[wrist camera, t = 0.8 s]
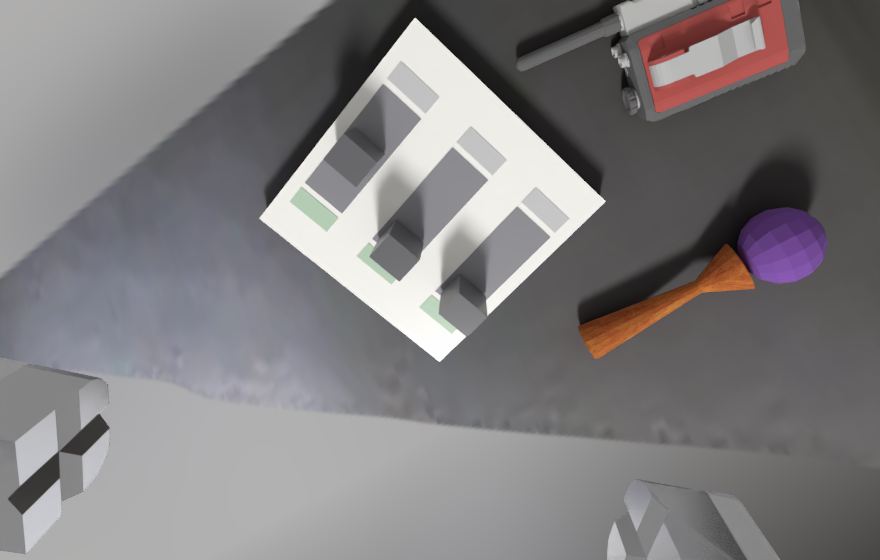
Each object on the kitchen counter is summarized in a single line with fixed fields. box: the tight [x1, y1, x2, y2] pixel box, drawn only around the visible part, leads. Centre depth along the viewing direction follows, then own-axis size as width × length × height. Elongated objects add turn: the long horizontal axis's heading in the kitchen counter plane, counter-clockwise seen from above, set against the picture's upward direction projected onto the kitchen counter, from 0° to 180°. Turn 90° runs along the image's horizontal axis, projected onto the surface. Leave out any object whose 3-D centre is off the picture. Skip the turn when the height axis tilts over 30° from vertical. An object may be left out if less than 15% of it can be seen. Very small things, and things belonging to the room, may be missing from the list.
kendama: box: [578, 207, 828, 359], centre depth 45 cm, size 6×6×20 cm
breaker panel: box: [259, 18, 606, 362], centre depth 44 cm, size 20×20×2 cm
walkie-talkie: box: [516, 0, 806, 122], centre depth 39 cm, size 9×4×20 cm
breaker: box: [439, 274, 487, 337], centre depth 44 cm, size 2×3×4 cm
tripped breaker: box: [323, 127, 385, 187], centre depth 40 cm, size 2×3×4 cm
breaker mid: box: [369, 220, 424, 282], centre depth 42 cm, size 2×3×4 cm
